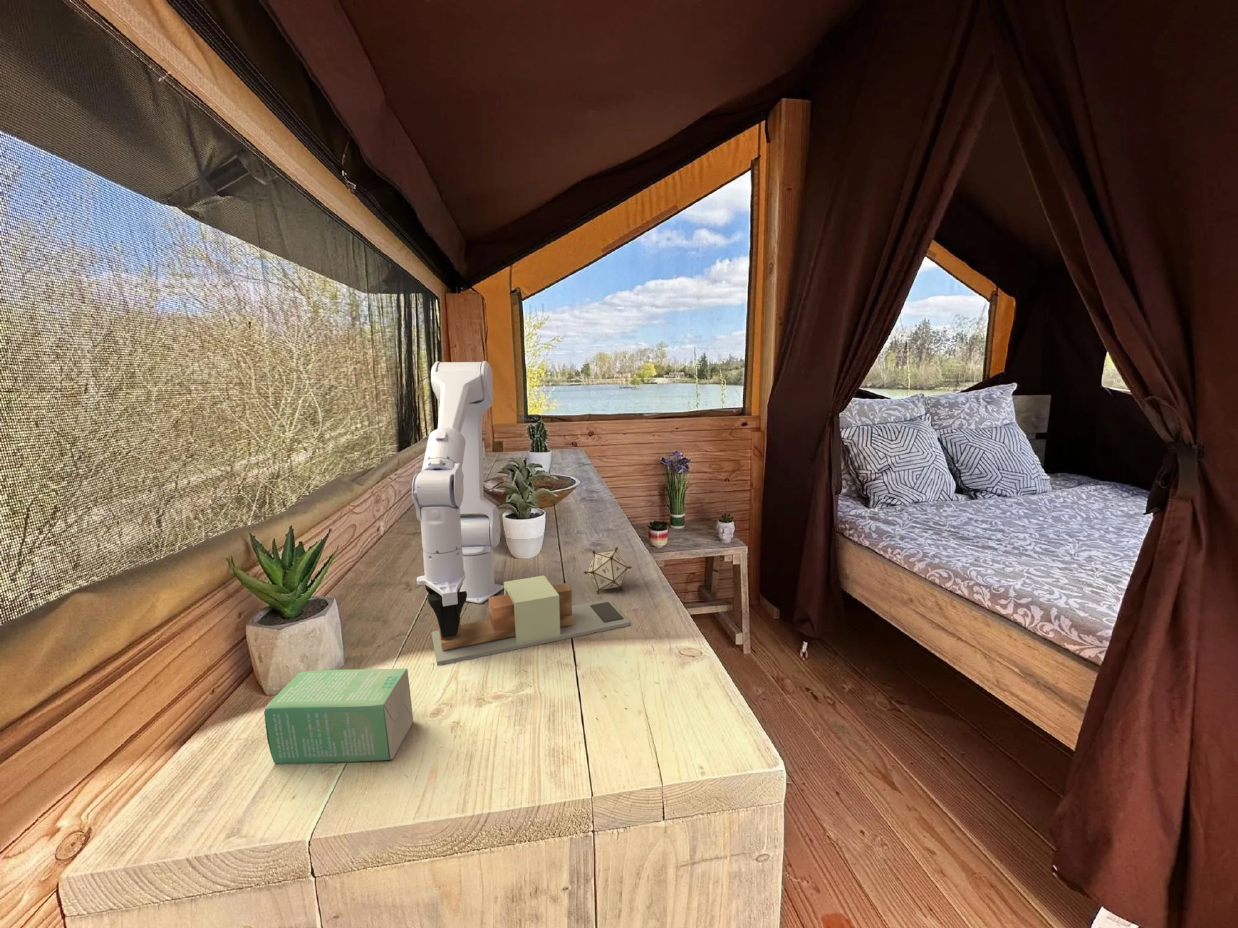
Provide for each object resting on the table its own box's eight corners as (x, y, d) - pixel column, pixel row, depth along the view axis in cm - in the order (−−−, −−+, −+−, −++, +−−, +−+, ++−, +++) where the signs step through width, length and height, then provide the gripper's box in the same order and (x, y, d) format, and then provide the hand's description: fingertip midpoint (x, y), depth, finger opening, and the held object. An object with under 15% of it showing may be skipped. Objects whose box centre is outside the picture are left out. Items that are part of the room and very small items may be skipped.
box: (305, 722, 68) (298, 667, 66) (414, 721, 68) (410, 666, 66) (268, 765, 60) (260, 705, 59) (391, 764, 61) (385, 703, 59)
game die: (614, 610, 106) (624, 583, 99) (574, 592, 107) (581, 564, 100) (630, 574, 112) (640, 547, 105) (592, 558, 113) (600, 529, 106)
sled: (442, 650, 82) (439, 615, 81) (439, 635, 87) (436, 602, 86) (574, 624, 90) (573, 592, 89) (565, 611, 95) (564, 581, 94)
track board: (437, 665, 80) (436, 661, 80) (431, 635, 89) (431, 631, 89) (629, 625, 92) (629, 622, 92) (607, 602, 101) (607, 599, 101)
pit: (604, 622, 92) (604, 621, 91) (590, 606, 98) (590, 605, 98) (623, 618, 93) (623, 617, 93) (608, 602, 99) (608, 601, 99)
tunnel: (517, 647, 85) (515, 602, 84) (505, 622, 93) (503, 581, 92) (560, 638, 88) (559, 595, 86) (545, 615, 96) (544, 575, 94)
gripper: (412, 537, 87) (418, 615, 90) (417, 567, 74) (424, 658, 77) (457, 531, 90) (462, 608, 93) (470, 559, 77) (475, 648, 80)
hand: (448, 630), depth 85 cm, fingers closed on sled, 3 cm apart
